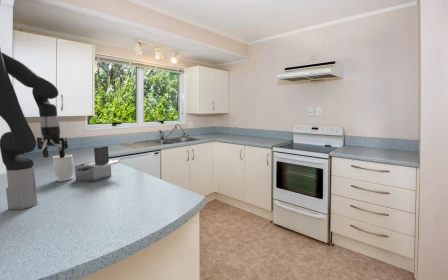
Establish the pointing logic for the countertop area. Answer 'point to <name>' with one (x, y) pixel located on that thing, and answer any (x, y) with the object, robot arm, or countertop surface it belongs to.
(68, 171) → the jar
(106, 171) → the grey rectangular container
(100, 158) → the lid
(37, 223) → the countertop surface
